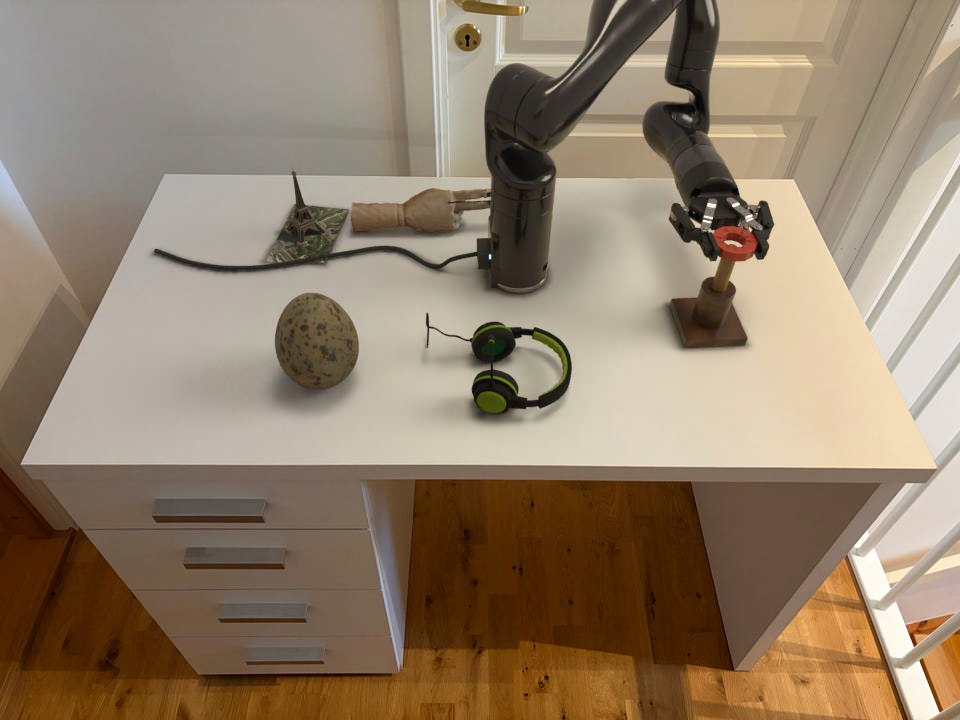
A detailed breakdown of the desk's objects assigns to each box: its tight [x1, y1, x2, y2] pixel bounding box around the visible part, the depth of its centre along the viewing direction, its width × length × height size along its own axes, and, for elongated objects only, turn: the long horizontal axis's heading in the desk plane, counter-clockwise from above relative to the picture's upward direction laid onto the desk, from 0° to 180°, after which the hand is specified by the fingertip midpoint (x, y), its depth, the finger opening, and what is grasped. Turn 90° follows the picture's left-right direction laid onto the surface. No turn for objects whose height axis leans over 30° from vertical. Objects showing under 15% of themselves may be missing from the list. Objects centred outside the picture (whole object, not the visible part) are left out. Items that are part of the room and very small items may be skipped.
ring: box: [712, 226, 758, 263], centre depth 97 cm, size 6×6×1 cm
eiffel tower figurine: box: [265, 165, 350, 264], centre depth 117 cm, size 15×10×13 cm
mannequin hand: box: [349, 187, 491, 233], centre depth 121 cm, size 7×7×25 cm
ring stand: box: [669, 243, 749, 349], centre depth 103 cm, size 9×9×15 cm
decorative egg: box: [274, 292, 360, 391], centre depth 95 cm, size 11×11×15 cm
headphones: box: [424, 312, 573, 415], centre depth 98 cm, size 16×10×20 cm
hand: (739, 255), depth 95 cm, fingers closed on ring, 5 cm apart
